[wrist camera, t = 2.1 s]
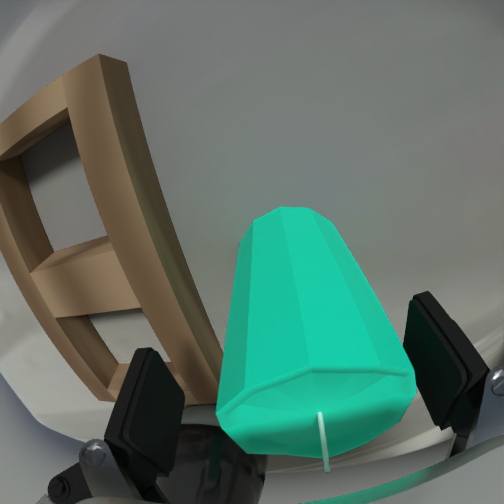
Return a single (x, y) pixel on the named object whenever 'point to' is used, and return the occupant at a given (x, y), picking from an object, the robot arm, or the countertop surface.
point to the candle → (307, 345)
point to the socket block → (108, 247)
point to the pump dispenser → (212, 464)
